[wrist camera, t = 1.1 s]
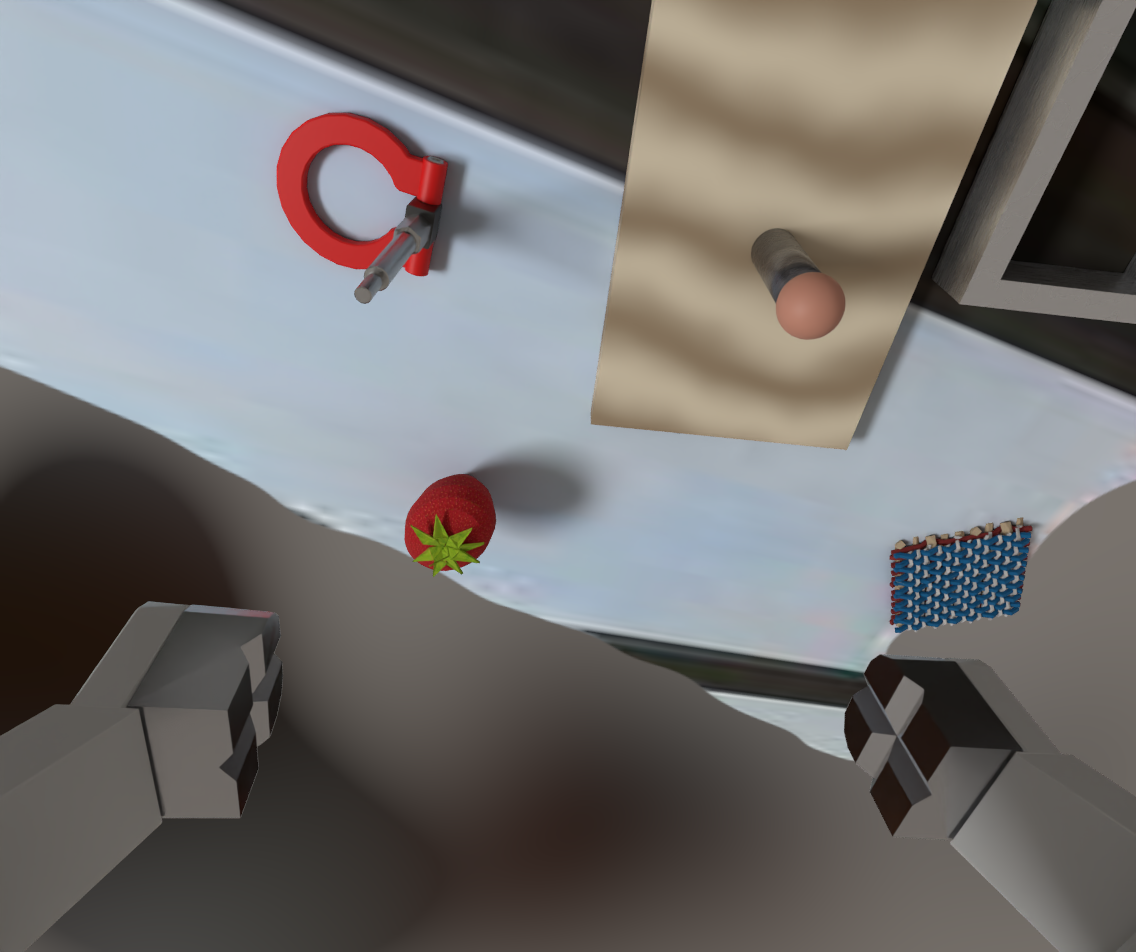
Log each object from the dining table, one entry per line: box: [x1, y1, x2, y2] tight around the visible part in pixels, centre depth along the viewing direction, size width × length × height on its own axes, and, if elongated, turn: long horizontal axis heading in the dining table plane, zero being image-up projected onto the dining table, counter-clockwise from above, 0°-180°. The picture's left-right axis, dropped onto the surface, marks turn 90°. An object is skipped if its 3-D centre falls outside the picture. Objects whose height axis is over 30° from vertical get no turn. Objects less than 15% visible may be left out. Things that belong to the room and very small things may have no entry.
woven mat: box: [890, 517, 1032, 633], centre depth 57 cm, size 10×11×2 cm
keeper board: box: [591, 0, 1037, 450], centre depth 37 cm, size 26×18×11 cm
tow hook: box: [277, 113, 448, 304], centre depth 35 cm, size 8×13×9 cm
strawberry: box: [405, 474, 496, 577], centre depth 48 cm, size 6×8×10 cm
